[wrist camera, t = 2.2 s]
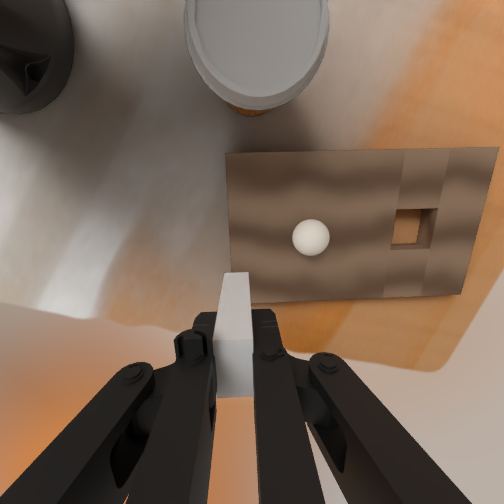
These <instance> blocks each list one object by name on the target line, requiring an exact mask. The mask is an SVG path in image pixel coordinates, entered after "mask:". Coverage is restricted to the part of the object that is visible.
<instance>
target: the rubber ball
mask: <svg viewBox="0 0 504 504" xmlns="http://www.w3.org/2000/svg"><path fill="white" fill-rule="evenodd" d="M329 239H330V236H329V231H328V229H327V227H326V226H325V225H324V224H323V223H322V222H320V221H318V220H314V219H308V220H304V221H302V222H301V223H299V224H298V225H297V226H296V227H295V229H294V231H293V235H292V241H293V244H294V246H295V248H296V249H297V250H298V251H299V252H300V253H302V254H304V255H308V256H313V255H317V254H320V253H321V252H323V251H324V250H325V249H326V247H327V246H328V243H329Z"/></svg>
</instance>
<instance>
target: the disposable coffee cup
mask: <svg viewBox="0 0 504 504" xmlns="http://www.w3.org/2000/svg"><path fill="white" fill-rule="evenodd" d="M184 27H185V36H186V41H187V46H188V50H189V53H190V56H191V58H192V61H193V63H194V65H195V67H196V69H197V71H198V73H199V74H200V76H201V77H202V79H203V80H204V82H205V83H206V84H207V86H208V87H209V88H210V89H211V90H212V91H213V92H215V93H216V94H217V95H218V96H219V97H220V98H222V99H223V100H225V101H227V103H228V104H229V105H230V107H231V108H232V109H233V110H235V111H236V112H237V113H239V114H241V115H244V116H250V117H254V116H259V115H261V114H264V113H265V112H267V111H268V110H269V109H271V108H275V107H278V106H280V105H282V104H285V103H286V102H288V101H290V100H291V99H293V98H294V97H296V96H297V95H298V94H299V93H300V92H301V91H302V90H303V89H304V88H305V87H306V86H307V85H308V84H309V83H310V81H311V80H312V78H313V77H314V75H315V74H316V72H317V70H318V68H319V66H320V63H321V61H322V59H323V57H324V53H325V49H326V46H327V41H328V34H329V8H328V0H185V10H184Z"/></svg>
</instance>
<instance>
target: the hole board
mask: <svg viewBox="0 0 504 504" xmlns="http://www.w3.org/2000/svg"><path fill="white" fill-rule="evenodd" d="M498 151H499V147H473V148H429V149H384V150H340V151H296V152H251V153H225V158H226V177H227V196H228V215H229V233H230V252H231V271H232V273H237V272H248V273H249V287H250V302H251V303H273V302H297V301H320V300H343V299H367V298H390V297H413V296H437V295H460V294H461V292H462V288H463V284H464V281H465V277H466V273H467V269H468V265H469V262H470V258H471V254H472V250H473V246H474V242H475V239H476V235H477V231H478V227H479V223H480V220H481V216H482V212H483V208H484V204H485V201H486V197H487V193H488V189H489V185H490V181H491V178H492V174H493V170H494V166H495V162H496V159H497V155H498ZM396 209H423V210H422V215H421V221H420V226H419V231H418V237H417V242H416V243H412V244H391V242H392V235H393V229H394V222H395V216H396ZM308 219H314V220H318V221H320V222H322V223H323V224H324V225H325V226H326V227H327V229H328V231H329V236H330V239H329V243H328V246H327V247H326V249H325V250H324V251H323V252H321V253H320V254H317V255H313V256H308V255H304V254H302V253H300V252H299V251H298V250H297V249H296V248H295V246H294V244H293V241H292V235H293V231H294V229H295V227H296V226H297V225H298V224H299V223H301V222H302V221H304V220H308Z"/></svg>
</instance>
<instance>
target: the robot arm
mask: <svg viewBox="0 0 504 504" xmlns="http://www.w3.org/2000/svg"><path fill="white" fill-rule="evenodd" d="M72 61H73V34H72V28H71V23H70V19H69V15H68V12H67V9H66V6H65V4H64V1H63V0H0V113H4V114H25V113H30V112H33V111H36V110H39V109H41V108H43V107H45V106H46V105H48V104H49V103H50V102H52V101H53V100H54V99H55V98H56V97H57V96H58V94H59V93H60V92H61V90H62V89H63V87H64V86H65V84H66V82H67V79H68V77H69V74H70V71H71V67H72ZM174 346H175V353H176V361H175V363H173V364H171V365H168V366H166V367H163V368H159V369H156V370H153V367H152V366H151V365H150V364H149V363H146V362H137V363H133V364H129V365H128V366H126V367H124V368H122V369H121V370H120V371H118V372H117V373H116V374H115V375H114V376H113V377H112V378H111V379H110V380H109V381H108V383H107V384H106V385H105V386H104V387H103V388H102V389H101V390H100V391H99V392H98V393H97V394H96V395H95V396H94V397H93V399H92V400H91V401H90V402H89V403H88V404H87V405H86V406H85V407H84V408H83V409H82V410H81V412H80V413H79V414H78V415H77V416H76V417H75V418H74V419H73V420H72V421H71V422H70V423H69V424H68V425H67V426H66V427H65V428H64V430H63V431H62V432H61V433H60V434H59V435H58V436H57V437H56V438H55V439H54V440H53V441H52V442H51V443H50V444H49V446H48V447H47V448H46V449H45V450H44V451H43V452H42V453H41V454H40V455H39V456H38V457H37V458H36V460H34V461H33V463H32V464H31V465H30V466H29V467H28V468H27V469H26V470H25V471H24V472H23V473H22V474H21V475H20V477H19V478H18V479H17V480H16V481H15V482H14V483H13V484H12V485H11V486H10V487H9V488H8V489H7V490H6V491H5V492H4V494H3V495H2V496H1V497H0V504H123V503H124V501H125V500H126V498H127V496H128V494H129V496H128V499H127V501H126V504H207V498H208V489H209V479H210V469H211V459H212V449H213V440H214V430H215V421H216V393H217V398H227V397H244V396H254V416H255V417H254V418H255V434H256V451H257V452H256V454H257V471H258V472H257V473H258V493H259V504H325V500H324V496H323V492H322V488H321V484H320V480H319V476H318V472H317V468H316V465H315V461H314V456H313V452H312V449H311V444H310V441H309V436H308V432H307V429H306V425H305V422H307V425H308V427H309V429H310V431H311V433H312V435H313V437H314V439H315V441H316V443H317V444H318V446H319V448H320V450H321V452H322V454H323V456H324V458H325V460H326V462H327V464H328V466H329V468H330V470H331V472H332V474H333V476H334V477H335V479H336V481H337V483H338V485H339V487H340V489H341V491H342V493H343V495H344V497H345V499H346V501H347V502H348V504H472V503H471V502H470V501H469V500H468V499H467V498H466V497H465V495H464V494H463V493H462V492H461V491H460V490H459V489H458V487H457V486H456V485H455V484H454V483H453V482H452V481H451V480H450V479H449V477H448V476H447V475H446V474H445V473H444V472H443V471H442V470H441V468H440V467H439V466H438V465H437V464H436V463H435V462H434V461H433V460H432V459H431V457H430V456H429V455H428V454H427V453H426V452H425V451H424V450H423V448H421V446H420V445H419V444H418V443H417V442H416V441H415V439H414V438H413V437H412V436H411V435H410V434H409V433H408V432H407V431H406V430H405V428H404V427H403V426H402V425H401V424H400V423H399V422H398V421H397V419H396V418H395V417H394V416H393V415H392V414H391V413H390V412H389V410H388V409H387V408H386V407H385V406H384V405H383V404H382V403H381V401H380V400H379V399H378V398H377V397H376V396H375V395H374V394H373V393H372V392H371V391H370V389H369V388H368V387H367V386H366V385H365V384H364V383H363V382H362V380H361V379H360V378H359V377H358V376H357V375H356V374H355V373H354V371H353V370H352V369H351V368H350V367H349V366H348V365H347V363H346V362H344V360H342V359H341V358H340V357H339V356H336V355H334V354H332V353H326V352H322V353H317V354H314V355H313V356H312V357H311V358H310V360H309V361H307V360H301V359H298V358H295V357H293V356H290V355H289V354H288V353H287V351H286V350H285V348H283V345H282V341H281V336H280V332H279V328H278V324H277V320H276V316H275V313H274V312H273V311H272V310H271V309H251V302H250V287H249V273H248V272H237V273H224V278H223V284H222V289H221V295H220V301H219V306H218V312H201V313H200V314H199V315H198V316H197V317H196V318H195V320H194V324H193V327H192V329H189V330H186V331H183V332H181V333H180V334H179V335H177V336H176V338H175V339H174Z"/></svg>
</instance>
